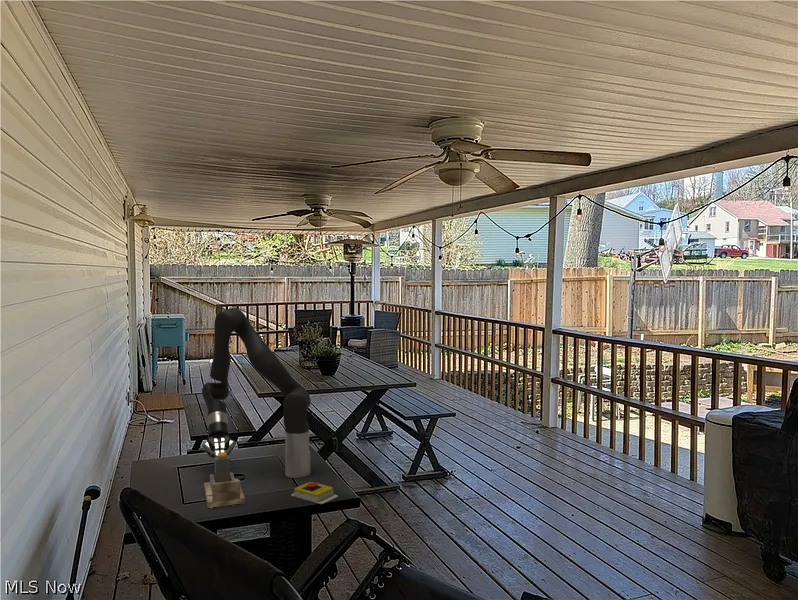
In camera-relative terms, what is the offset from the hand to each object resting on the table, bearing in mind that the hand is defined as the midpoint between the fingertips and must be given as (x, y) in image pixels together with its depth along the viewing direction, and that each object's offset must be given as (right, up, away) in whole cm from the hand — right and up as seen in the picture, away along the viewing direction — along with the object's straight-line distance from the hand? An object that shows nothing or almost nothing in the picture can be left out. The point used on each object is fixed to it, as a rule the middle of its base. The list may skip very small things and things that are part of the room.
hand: (220, 466), depth 213 cm
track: (+4, -7, -10) cm, 14 cm away
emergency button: (+37, -8, -10) cm, 39 cm away
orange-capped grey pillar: (+3, -5, -6) cm, 8 cm away
